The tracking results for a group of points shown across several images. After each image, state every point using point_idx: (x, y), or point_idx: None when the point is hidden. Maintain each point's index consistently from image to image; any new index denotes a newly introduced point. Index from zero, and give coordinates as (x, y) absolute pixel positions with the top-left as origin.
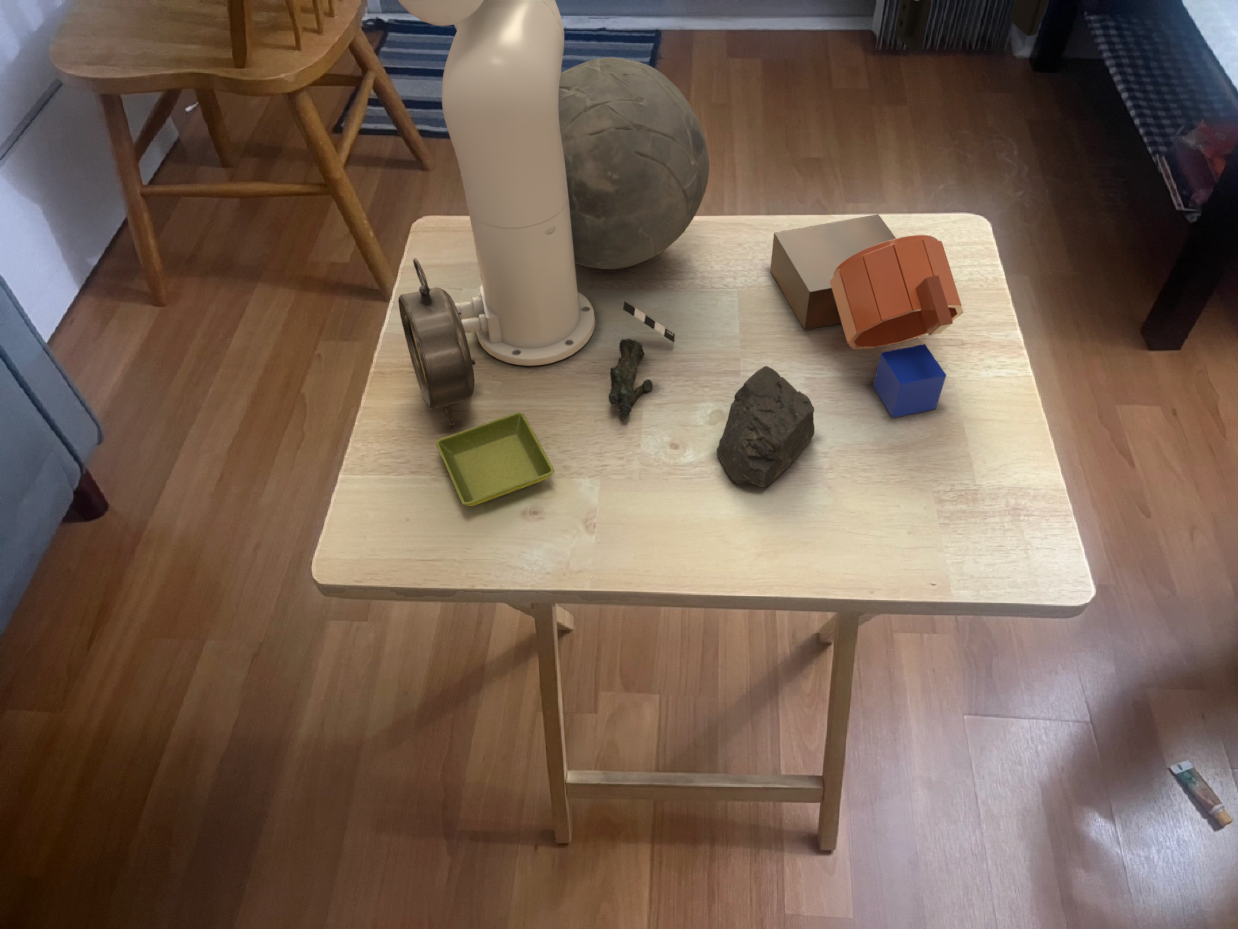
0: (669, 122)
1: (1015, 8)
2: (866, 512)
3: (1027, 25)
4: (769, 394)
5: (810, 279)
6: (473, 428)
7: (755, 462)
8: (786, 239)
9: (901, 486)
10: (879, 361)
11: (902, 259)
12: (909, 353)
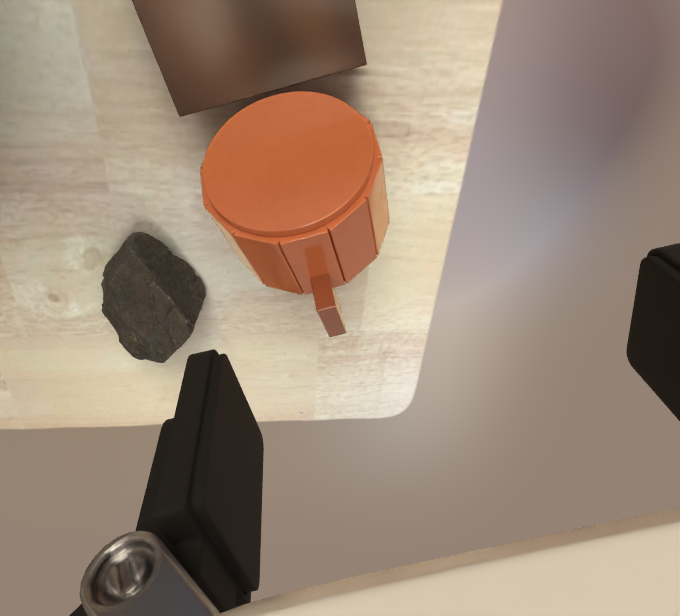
0: None
1: (672, 294)
2: (256, 360)
3: (644, 363)
4: (141, 300)
5: (179, 81)
6: None
7: (142, 353)
8: None
9: (291, 335)
10: None
11: (292, 257)
12: None
